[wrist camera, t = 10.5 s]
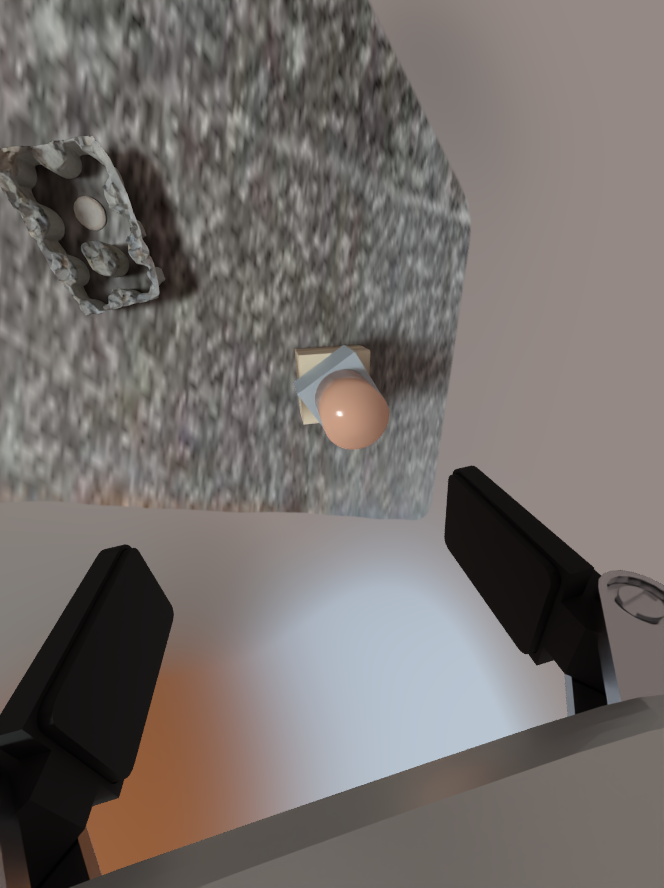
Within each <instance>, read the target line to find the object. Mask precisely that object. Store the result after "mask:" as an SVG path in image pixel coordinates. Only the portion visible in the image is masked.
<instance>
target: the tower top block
mask: <svg viewBox="0 0 664 888" xmlns="http://www.w3.org/2000/svg"><path fill="white" fill-rule="evenodd" d="M337 370H352V371H355V372H357V373H359V374H360V375H362V376H363V377H364V378H365V379H366V380H367V381H368V382H369V383H370V384H371V385H372V386H373V387H374V388H375V389H376V390H377V391H378V392H379V393H380V391H379V390H378V388H377V387H376V385H375V383H374V382H373V380H372V379H371V377H370V375H369V374H368V372H367V371H366V369H365V367H364V366H363V364H362V363H361V361H360V359H359V358H358V356H357V354H356V353H355V352H354V351H353V350H351V349H350V348H348V347H347V346H345V345H343V346H341V347H340V348H339V349H337V350H336V351H335V352H333V353H332V354H331V355H329V356H328V357H327V358H325V359H324V360H323V361H321V362H320V363H319V364H317V365H316V366H315V367H313V368H312V369H311V370H309V371H308V372H306V373H305V374H304V375H302V376H301V377H300V378H298V379H297V380H296V381H294V382H293V383H294V386H295V389H296V392H297V395H298V396H299V397H300V399H301V400H302V401H303V402H304V404H305V405H306V406H307V407H308V409H309V410H310V411H311V412H312V414H313V415H314V416H315V418H316V419H317V420H318V421H319V423H320V424H321V425H322V426H323V424H322V422H321V419H320V416H319V413H318V410H317V408H316V404H315V393H316V390H317V387H318V385H319V384H320V382H321V381H322V380H323V379H324V378H325V377H326V376H327V375H328V374H330V373H332V372H334V371H337ZM380 394H381V393H380ZM382 397H383V396H382ZM387 405H388V404H387ZM323 428H324V427H323Z"/></svg>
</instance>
